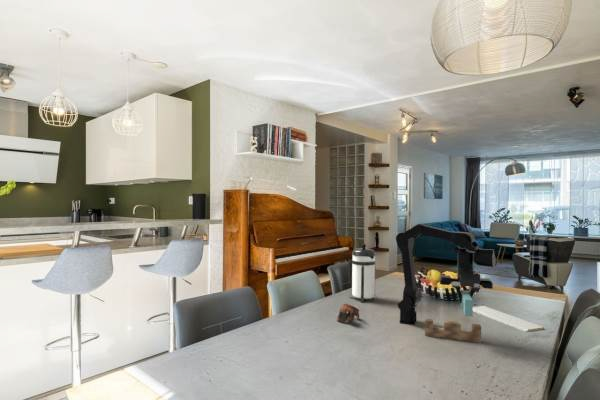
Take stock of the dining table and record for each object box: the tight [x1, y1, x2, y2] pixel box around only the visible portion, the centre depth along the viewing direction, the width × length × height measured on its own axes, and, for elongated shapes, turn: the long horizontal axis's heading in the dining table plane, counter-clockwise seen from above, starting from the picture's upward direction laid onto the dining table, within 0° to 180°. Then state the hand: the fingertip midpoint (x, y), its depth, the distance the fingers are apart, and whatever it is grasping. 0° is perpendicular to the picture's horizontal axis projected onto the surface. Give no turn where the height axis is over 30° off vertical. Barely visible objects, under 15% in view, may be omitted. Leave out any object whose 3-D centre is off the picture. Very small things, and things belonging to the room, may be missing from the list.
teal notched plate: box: [460, 289, 474, 317], centre depth 134 cm, size 14×2×6 cm, turn 161°
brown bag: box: [336, 303, 360, 324], centre depth 154 cm, size 12×10×8 cm
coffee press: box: [347, 243, 378, 303], centre depth 190 cm, size 17×16×30 cm
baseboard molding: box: [473, 303, 545, 333], centre depth 160 cm, size 31×3×12 cm
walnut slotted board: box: [424, 318, 482, 344], centre depth 136 cm, size 20×2×6 cm, turn 71°
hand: (464, 303), depth 139 cm, fingers closed on teal notched plate, 2 cm apart
